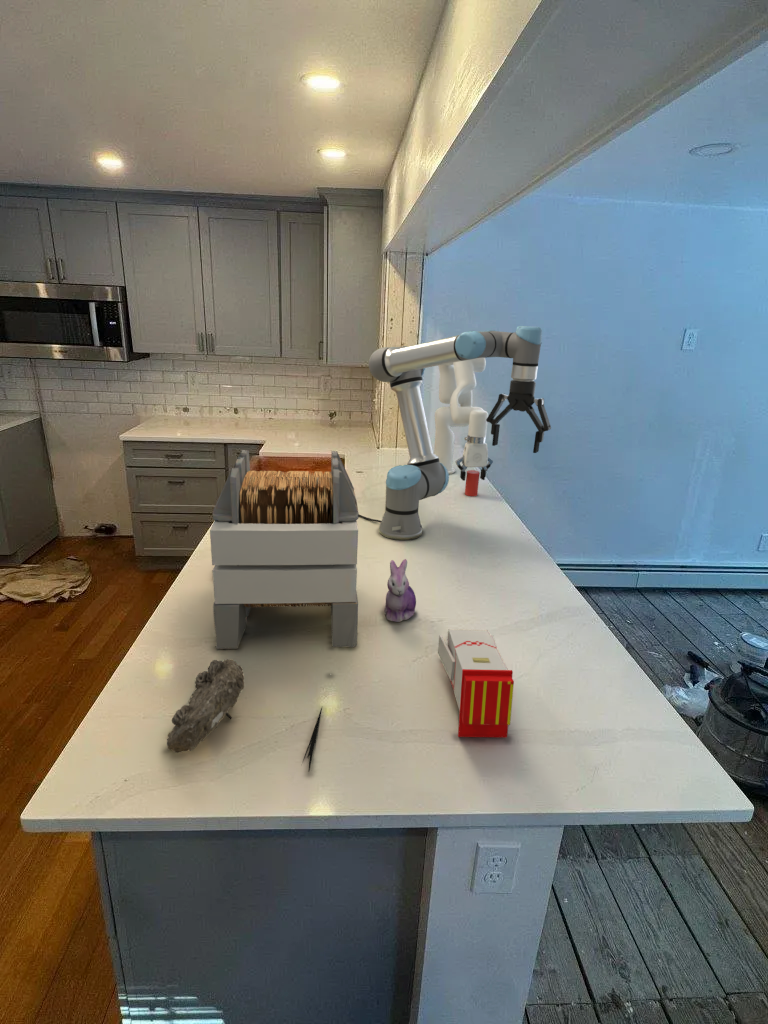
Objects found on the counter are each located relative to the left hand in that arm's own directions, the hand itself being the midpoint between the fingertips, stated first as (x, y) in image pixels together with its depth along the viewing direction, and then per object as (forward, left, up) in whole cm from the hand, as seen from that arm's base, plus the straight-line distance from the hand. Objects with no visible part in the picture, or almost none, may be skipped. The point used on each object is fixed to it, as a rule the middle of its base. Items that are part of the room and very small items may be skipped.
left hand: (514, 448), depth 179 cm
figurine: (+11, -57, -35) cm, 67 cm away
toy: (+44, -66, -35) cm, 86 cm away
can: (-47, +38, -35) cm, 69 cm away
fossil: (+18, -111, -35) cm, 118 cm away
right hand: (-46, +37, -28) cm, 66 cm away
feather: (+31, -96, -35) cm, 107 cm away
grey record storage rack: (-6, -79, -35) cm, 86 cm away
